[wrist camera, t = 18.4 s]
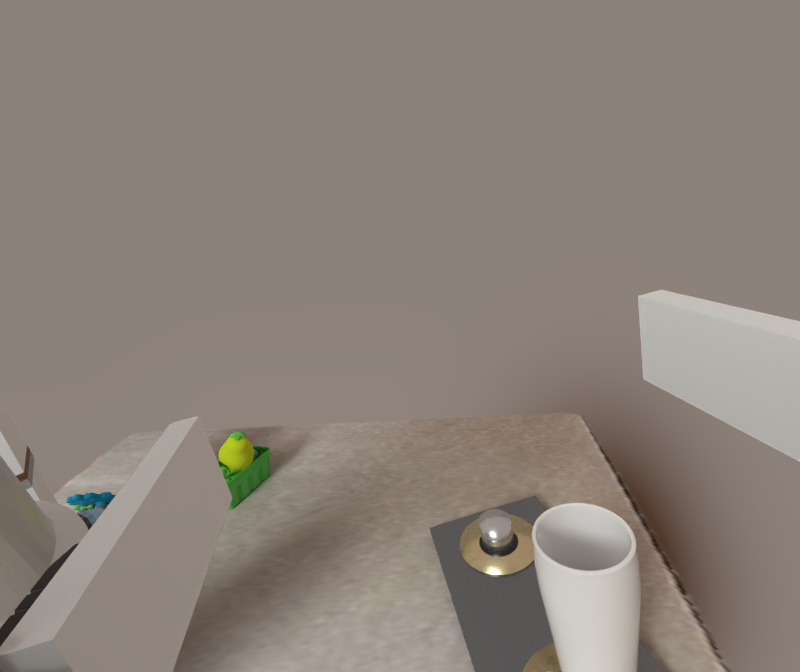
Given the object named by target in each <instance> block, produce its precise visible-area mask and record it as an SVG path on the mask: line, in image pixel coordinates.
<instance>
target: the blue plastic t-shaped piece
mask: <svg viewBox="0 0 800 672" xmlns="http://www.w3.org/2000/svg"><path fill="white" fill-rule="evenodd" d="M115 496H116V495H112V494H111V492H104V493H101V494H95V493H85V495H80V494H75V495H73V497H68V499H67V503H69V505H74V509H73V510H78V513H79V512H82V511H89V510H87V509H90V510H91V509H93V508H95V507H96V508H101V509H104V510H105V509H106V507H107V505H109V504H110V502H111V501H112V500H113V498H114V497H115Z"/></svg>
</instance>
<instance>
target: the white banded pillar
mask: <svg viewBox="0 0 800 672" xmlns="http://www.w3.org/2000/svg"><path fill="white" fill-rule="evenodd" d="M0 456H1V457H2V458H3V460H4V461H5V462H6V464H7V465H8V466H9V468H10V469H11V470H12V472H13V473H14V474H15V476H16V477H17V478H18V480H19V481H20V482H21V484H22V485H23V486H24V488H25V489H26V490H27V492H28V493H29V494H30V496H31V497H32V498H33V500H34V501H45V502H51V503H57V501H56V499H55V497H54V496H53V494H52V492H51V490H50V488H49V487H48V485H47V483H46V481H45V479H44V478H43V476H42V474H41V472H40V471H39V466H38V464H37V462H36V460H35V458H34V457H33V455H32V453H31V451H30V449H29V448H28V446H27V444H26V442H25V440H24V439H23V437H22V435H21V433H20V431H19V430H18V428H17V426H16V424H15V423H14V421H13V419H12V417H11V415H10V413H9V412H8V410H7V408H6V406H5V404H4V403H3V401H2V399H1V397H0ZM57 504H58V503H57Z"/></svg>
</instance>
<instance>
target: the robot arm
mask: <svg viewBox="0 0 800 672" xmlns="http://www.w3.org/2000/svg"><path fill="white" fill-rule="evenodd" d="M638 304H639V318H640V333H641V350H642V365H643V379H644V380H646V381H648V382H650V383H652V384H654V385H656V386H657V387H659V388H661V389H663V390H665V391H667V392H669V393H671V394H673V395H675V396H676V397H678V398H681V399H682V400H684V401H686V402H688V403H690V404H692V405H693V406H695V407H697V408H699V409H701V410H703V411H705V412H707V413H709V414H711V415H712V416H714V417H716V418H718V419H720V420H722V421H724V422H726V423H728V424H729V425H731V426H733V427H735V428H737V429H739V430H741V431H743V432H745V433H746V434H748V435H750V436H752V437H754V438H756V439H758V440H760V441H762V442H764V443H765V444H767V445H769V446H771V447H773V448H775V449H777V450H779V451H781V452H782V453H784V454H786V455H788V456H790V457H792V458H794V459H796V460H798V461H800V322H799V321H795V320H791V319H786V318H782V317H777V316H773V315H769V314H765V313H761V312H756V311H752V310H747V309H743V308H738V307H734V306H730V305H725V304H721V303H717V302H713V301H708V300H704V299H700V298H695V297H691V296H686V295H682V294H677V293H673V292H669V291H665V290H659V291H655V292H651V293H648V294H644V295H641V296H638ZM231 501H232V495H231V493H230V490H229V488H228V486H227V483H226V481H225V478H224V476H223V473H222V471H221V468H220V466H219V464H218V461H217V459H216V456H215V454H214V451H213V449H212V446H211V444H210V442H209V439H208V437H207V434H206V432H205V429H204V427H203V425H202V422H201V420H200V417H199V416H195V417H191V418H188V419H184V420H180V421H177V422H173V423H170V425H169V426H168V427H167V429H166V430H165V431H164V433H163V434H162V435H161V437H160V438H159V439H158V441H157V442H156V443H155V444H154V446H153V447H152V448H151V450H150V451H149V452H148V454H147V455H146V456H145V458H144V459H143V460H142V462H141V463H140V464H139V465H138V467H137V468H136V469H135V471H134V472H133V473H132V475H131V476H130V477H129V479H128V480H127V481H126V483H125V484H124V485H123V486H122V488H121V489H120V490H119V492H118V493H117V494H116V496H115V497H114V498H113V500H112V501H111V502H110V504H109V505H108V506H107V507H106V509H105V510H104V509H101V508H93V509H91V510H89V511H82V512H79V513H77V514H76V513H75V512H74V511H73V510H71V509H69V508H68V507H66V506H63V505H60V504H57V503H51V502H45V501H34V500H33V498H32V497H31V496H30V494H29V493H28V492H27V490H26V489H25V488H24V486H23V485H22V484H21V482H20V481H19V480H18V478H17V477H16V476H15V474H14V473H13V472H12V470H11V469H10V468H9V466H8V465H7V464H6V462H5V461H4V460H3V458H2V457H1V456H0V672H173V670H174V667H175V664H176V661H177V658H178V655H179V652H180V649H181V646H182V643H183V640H184V638H185V635H186V632H187V629H188V626H189V623H190V620H191V617H192V614H193V611H194V608H195V606H196V603H197V600H198V597H199V594H200V591H201V588H202V585H203V582H204V579H205V577H206V574H207V571H208V568H209V565H210V562H211V559H212V556H213V553H214V550H215V547H216V545H217V542H218V539H219V536H220V533H221V530H222V527H223V524H224V521H225V518H226V515H227V513H228V510H229V507H230V504H231Z"/></svg>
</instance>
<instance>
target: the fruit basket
mask: <svg viewBox="0 0 800 672" xmlns="http://www.w3.org/2000/svg"><path fill="white" fill-rule="evenodd" d="M269 453H270V448H268V447H261V446H253V445H252V444H251V442H250V441H249V440H248V439H247V438H246V435H245V434H244V433H243V432H240V431H239V432H234V433H232V434H231V435H230V436H229V438H228V439H227V441H226V442H225V443H224V444H223V445H222V447H221V448H220V450H219V454H218V457H219V462H218V464H219V466H220V468H221V471H222V473H223V476H224V478H225V481H226V483H227V486H228V488H229V490H230V493H231V495H232V501H231V504H230V507H229V508H230V509H233V508H234V507H235V506H236V505H237V504H239V502H240V501H241V500H243V499H244V498H245V497H246V496H247V495H248V494H250V492H251V491H252V490H254V489H255V488H256V487H257V486H258V485H259V484H260V483H261V482H262V481H264V480H265V479H266V478H267V477H268V476H269V475H270V473H269Z"/></svg>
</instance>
